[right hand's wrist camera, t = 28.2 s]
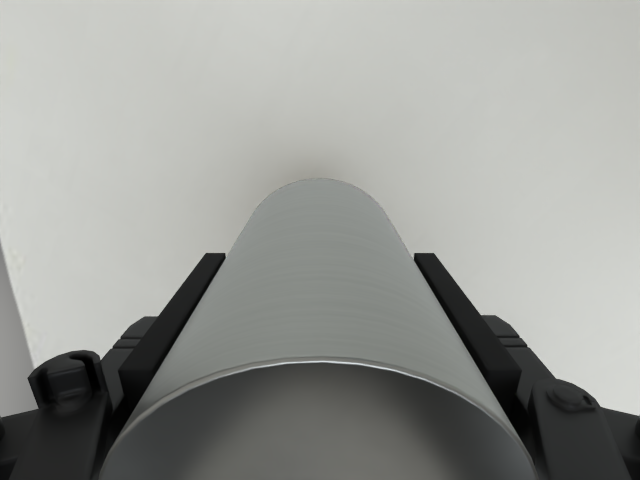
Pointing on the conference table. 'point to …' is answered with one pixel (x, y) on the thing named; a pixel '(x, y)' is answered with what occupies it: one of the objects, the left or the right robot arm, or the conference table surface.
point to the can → (318, 363)
